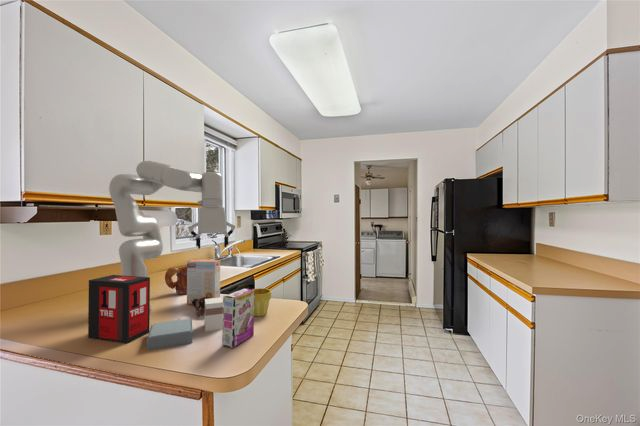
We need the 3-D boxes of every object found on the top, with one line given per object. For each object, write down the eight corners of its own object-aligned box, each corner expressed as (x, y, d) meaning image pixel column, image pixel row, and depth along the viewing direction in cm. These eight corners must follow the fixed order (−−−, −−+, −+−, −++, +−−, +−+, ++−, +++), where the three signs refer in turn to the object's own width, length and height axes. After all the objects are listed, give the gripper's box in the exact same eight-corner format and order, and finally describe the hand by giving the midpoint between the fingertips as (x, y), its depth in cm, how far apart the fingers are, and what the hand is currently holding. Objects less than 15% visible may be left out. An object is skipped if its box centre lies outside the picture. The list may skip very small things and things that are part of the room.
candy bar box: (234, 349, 90) (234, 297, 91) (221, 346, 92) (222, 295, 92) (254, 335, 101) (255, 289, 101) (243, 333, 103) (243, 287, 103)
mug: (188, 290, 159) (188, 263, 159) (196, 292, 154) (196, 265, 154) (161, 296, 147) (161, 267, 147) (169, 299, 142) (169, 269, 142)
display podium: (146, 350, 89) (147, 337, 89) (151, 334, 101) (151, 323, 101) (192, 342, 95) (192, 330, 95) (191, 328, 106) (191, 317, 106)
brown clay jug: (221, 311, 127) (221, 297, 123) (208, 327, 119) (207, 314, 115) (198, 302, 130) (197, 289, 126) (184, 317, 122) (182, 304, 117)
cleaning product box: (88, 338, 97) (88, 280, 98) (112, 328, 106) (112, 274, 106) (127, 343, 94) (128, 283, 94) (149, 332, 102) (149, 277, 102)
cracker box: (220, 302, 138) (221, 259, 138) (214, 306, 132) (215, 261, 132) (193, 301, 139) (193, 258, 139) (186, 305, 133) (186, 260, 133)
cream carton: (205, 331, 104) (205, 304, 104) (204, 324, 110) (204, 299, 110) (222, 329, 106) (223, 302, 106) (220, 322, 113) (221, 297, 113)
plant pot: (246, 319, 116) (246, 295, 116) (246, 310, 126) (247, 288, 126) (271, 317, 119) (271, 293, 119) (270, 309, 129) (270, 287, 129)
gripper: (187, 203, 104) (187, 249, 104) (235, 203, 111) (236, 247, 111) (188, 204, 111) (188, 247, 111) (234, 204, 118) (234, 245, 118)
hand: (212, 247), depth 111 cm, fingers open, 9 cm apart
